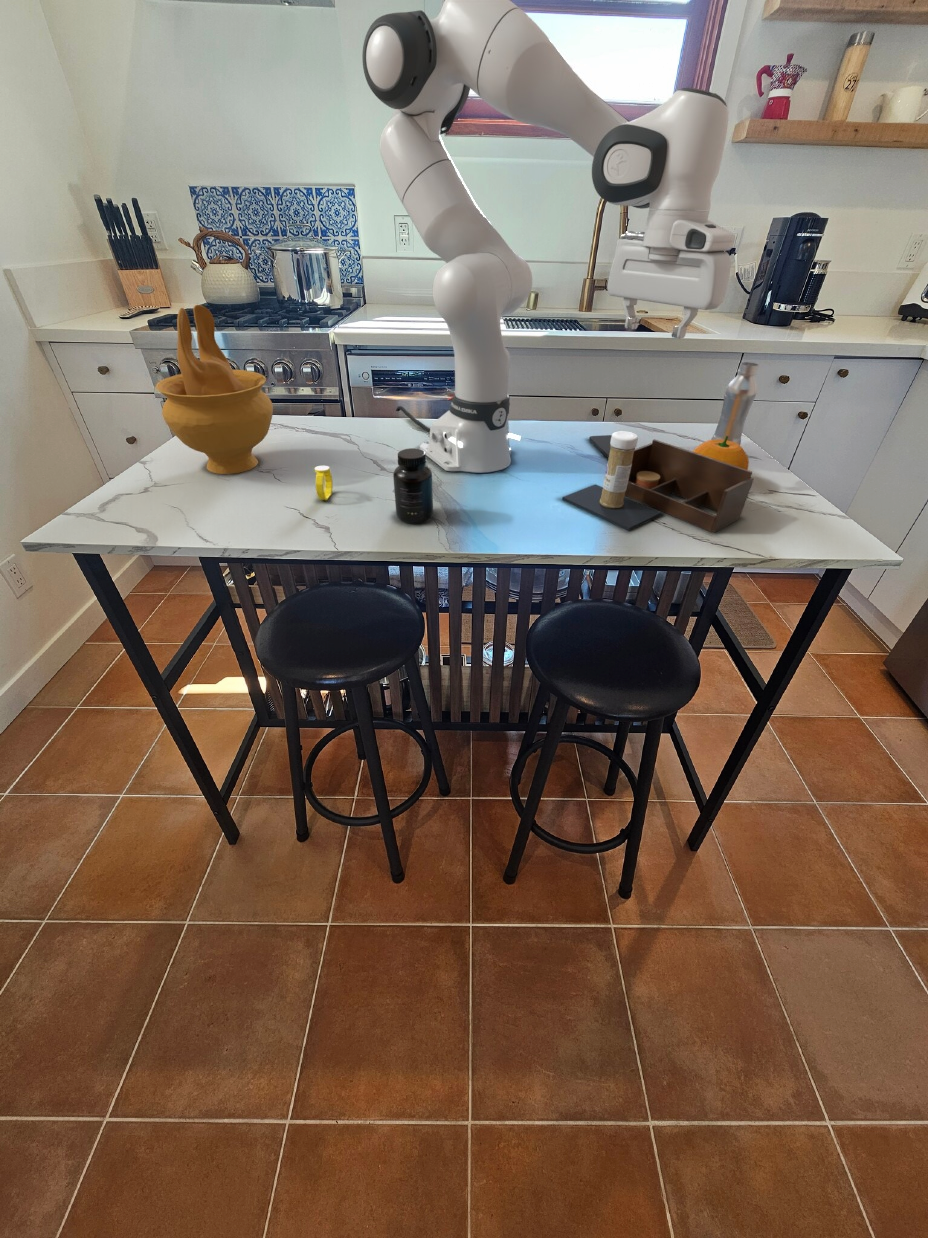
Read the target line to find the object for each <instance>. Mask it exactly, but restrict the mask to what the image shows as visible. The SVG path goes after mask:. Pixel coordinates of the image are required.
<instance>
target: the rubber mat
mask: <svg viewBox="0 0 928 1238" xmlns="http://www.w3.org/2000/svg"><path fill="white" fill-rule="evenodd" d="M602 490H603V486H601V485H598V484H596V483H595V484H593V485H590V486H587V487H585V488H582V489H579V490H577V491H575V492H572V493H569V494H567V495H564V496H562V499H561V500H562V501H564V502H566V503H568V504H571V505H573V506H575V507H576V508H579V509H581V510H583V511H585V512H587V513H590V514H592V515H594V516H596V517H598V518H601V519H602V520H604V521H607V522H609V523H610V524H613V525H616V526H618V527H620V528H621V529H624V530H626V531H629V532H630V531H631V530H633V529H636V528H637V527H640V526H641V525H644V524H646V523H648V522H650V521H653V520H654V519H657V518H658V517H661V516H662V514H663V512H662V511H660V510H658V509H655V508H653V507H650V506H648V505H646V504H643V503H641V502H639V501H636V500H634V499H631V498H629V497H627V496H624V500H623V502H624V504H623V506H622V507H620V508H607V507H604V506H602V505H601V504H600V499H601V495H602Z"/></svg>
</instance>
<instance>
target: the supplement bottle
mask: <svg viewBox="0 0 928 1238" xmlns="http://www.w3.org/2000/svg"><path fill="white" fill-rule="evenodd" d="M426 457H427V455H425V452H424V451H423V450H420V449H419V448H416V447H415V448H414V447H413V448H404V449H401V450H399V451H398V452H397V467H396V468H395V469H394V470H393V475H392V478H393V491H394V503H395V504H394V505H395V514H396V517H397V519H398V521H401V522H403V523H405V524H408V525H409V524H410V525H418V524H423V523H426V522H428V521H430V520H431V519H432V518H433V515H434V494H433V492H434V491H433V471H432V469H430V467H429V466H428V465H427V459H426Z"/></svg>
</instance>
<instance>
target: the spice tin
mask: <svg viewBox="0 0 928 1238" xmlns="http://www.w3.org/2000/svg"><path fill="white" fill-rule="evenodd" d="M659 480H660V475H659V474H657V473H654V472H650V471H640V472H638V473H637V474H636V481H635V483H636V484H638V485H641V486H643V487H646V488H648V489H651V488H653V487H656V486H658V483H659Z"/></svg>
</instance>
